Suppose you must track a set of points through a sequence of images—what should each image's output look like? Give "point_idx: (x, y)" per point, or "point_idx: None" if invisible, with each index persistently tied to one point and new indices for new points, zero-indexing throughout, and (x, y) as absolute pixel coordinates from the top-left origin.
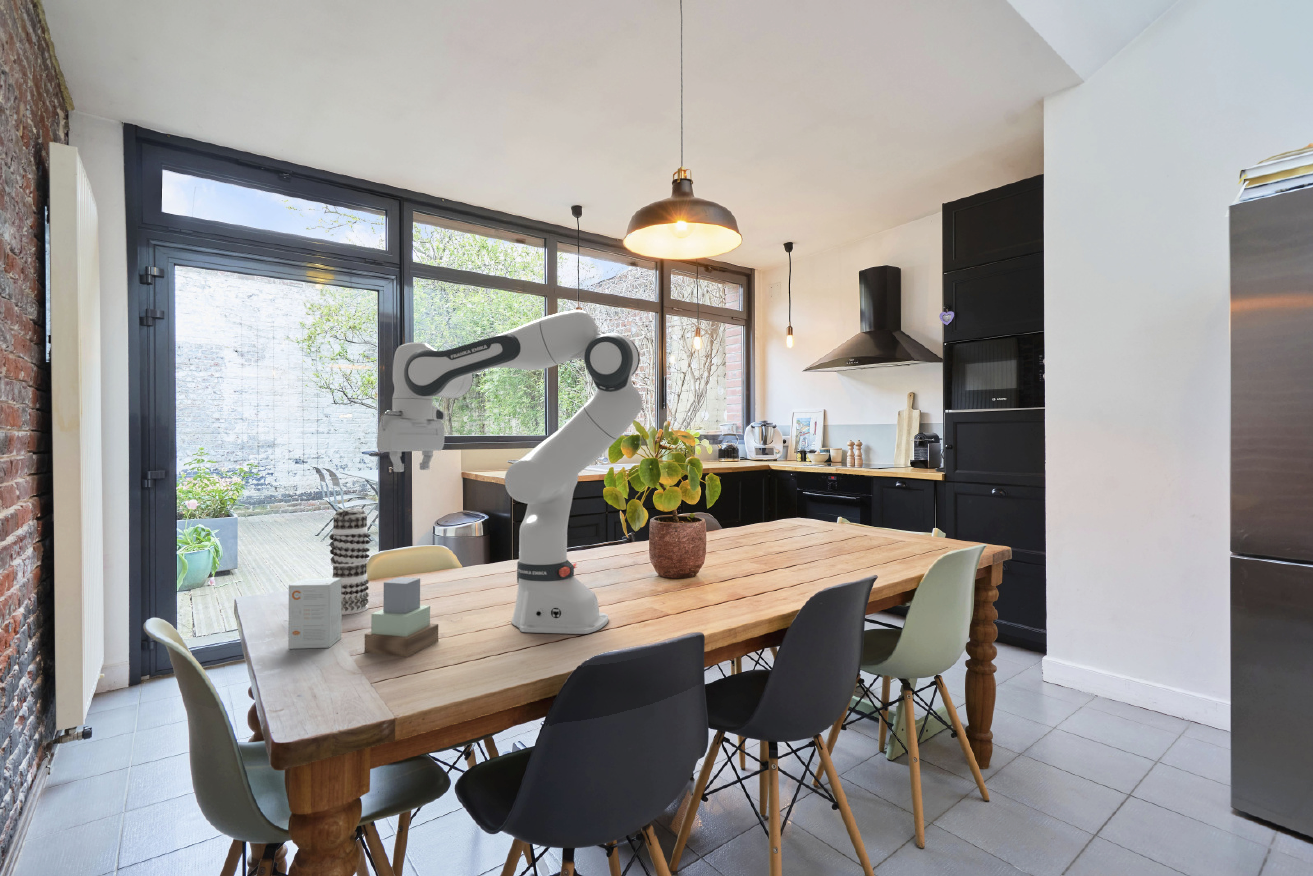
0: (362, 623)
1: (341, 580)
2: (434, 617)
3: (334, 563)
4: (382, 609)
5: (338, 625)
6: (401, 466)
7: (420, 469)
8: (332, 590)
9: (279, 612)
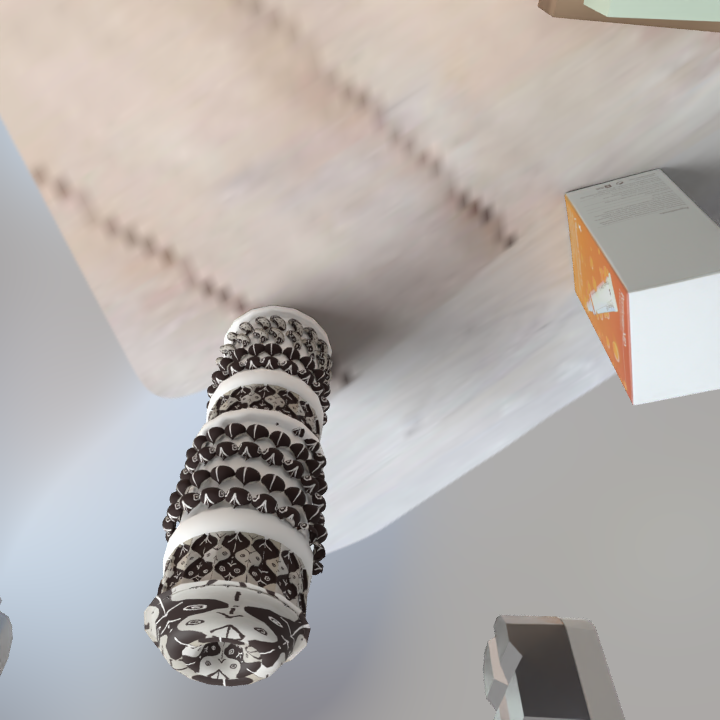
0: (402, 229)
1: (321, 414)
2: (274, 6)
3: (323, 477)
4: (712, 16)
5: (605, 204)
6: (579, 679)
7: (11, 635)
8: (712, 254)
9: (349, 484)
